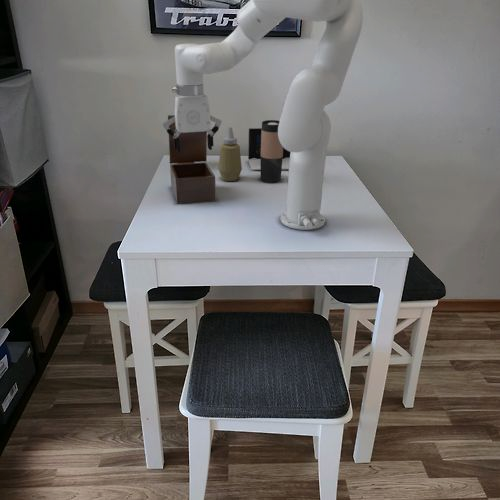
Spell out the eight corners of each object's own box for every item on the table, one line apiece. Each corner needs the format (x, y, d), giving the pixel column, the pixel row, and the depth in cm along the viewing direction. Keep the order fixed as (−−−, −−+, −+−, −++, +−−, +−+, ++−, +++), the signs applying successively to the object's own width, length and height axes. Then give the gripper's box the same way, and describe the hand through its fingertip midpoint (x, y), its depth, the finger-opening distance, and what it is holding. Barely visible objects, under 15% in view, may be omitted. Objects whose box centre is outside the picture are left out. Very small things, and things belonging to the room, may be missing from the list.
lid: (206, 114, 147) (204, 108, 151) (168, 116, 144) (166, 109, 148) (206, 161, 156) (203, 154, 160) (170, 163, 154) (168, 156, 157)
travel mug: (281, 176, 170) (284, 120, 161) (281, 183, 163) (284, 125, 154) (260, 175, 171) (262, 119, 161) (258, 182, 164) (260, 124, 155)
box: (215, 201, 148) (215, 176, 144) (177, 204, 145) (175, 179, 141) (206, 185, 161) (206, 162, 157) (171, 187, 158) (170, 164, 154)
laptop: (251, 171, 175) (252, 136, 169) (247, 161, 186) (248, 128, 180) (299, 170, 177) (301, 135, 171) (292, 160, 188) (294, 127, 182)
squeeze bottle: (244, 181, 165) (245, 129, 157) (222, 183, 162) (222, 131, 154) (236, 174, 171) (237, 124, 163) (215, 176, 169) (214, 125, 160)
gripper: (161, 94, 130) (166, 155, 138) (222, 91, 134) (224, 151, 142) (158, 90, 136) (164, 149, 144) (217, 87, 140) (219, 145, 148)
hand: (194, 149), depth 143 cm, fingers open, 9 cm apart
